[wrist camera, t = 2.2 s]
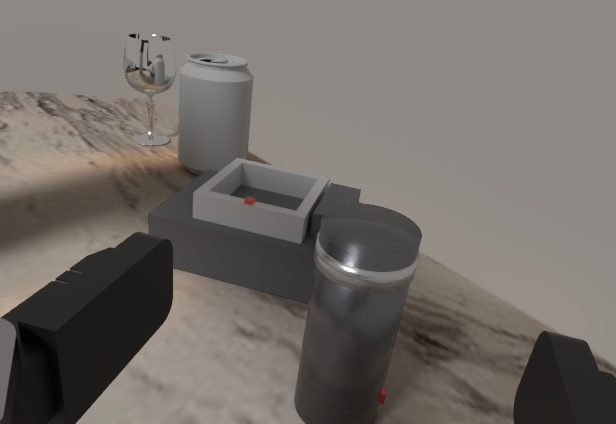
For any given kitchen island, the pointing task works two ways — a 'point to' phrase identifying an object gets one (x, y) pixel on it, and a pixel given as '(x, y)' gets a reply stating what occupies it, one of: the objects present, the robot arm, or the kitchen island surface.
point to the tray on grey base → (250, 225)
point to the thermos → (354, 312)
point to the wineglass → (149, 75)
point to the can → (213, 111)
